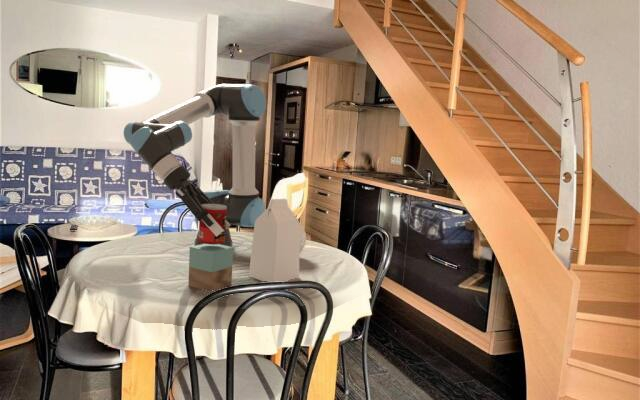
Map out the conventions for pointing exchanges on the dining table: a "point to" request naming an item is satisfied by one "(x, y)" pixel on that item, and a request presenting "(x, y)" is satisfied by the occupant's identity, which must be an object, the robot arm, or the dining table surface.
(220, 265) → the teal block
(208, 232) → the canned food
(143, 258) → the dining table surface
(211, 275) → the walnut block
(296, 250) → the milk
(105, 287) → the dining table surface
